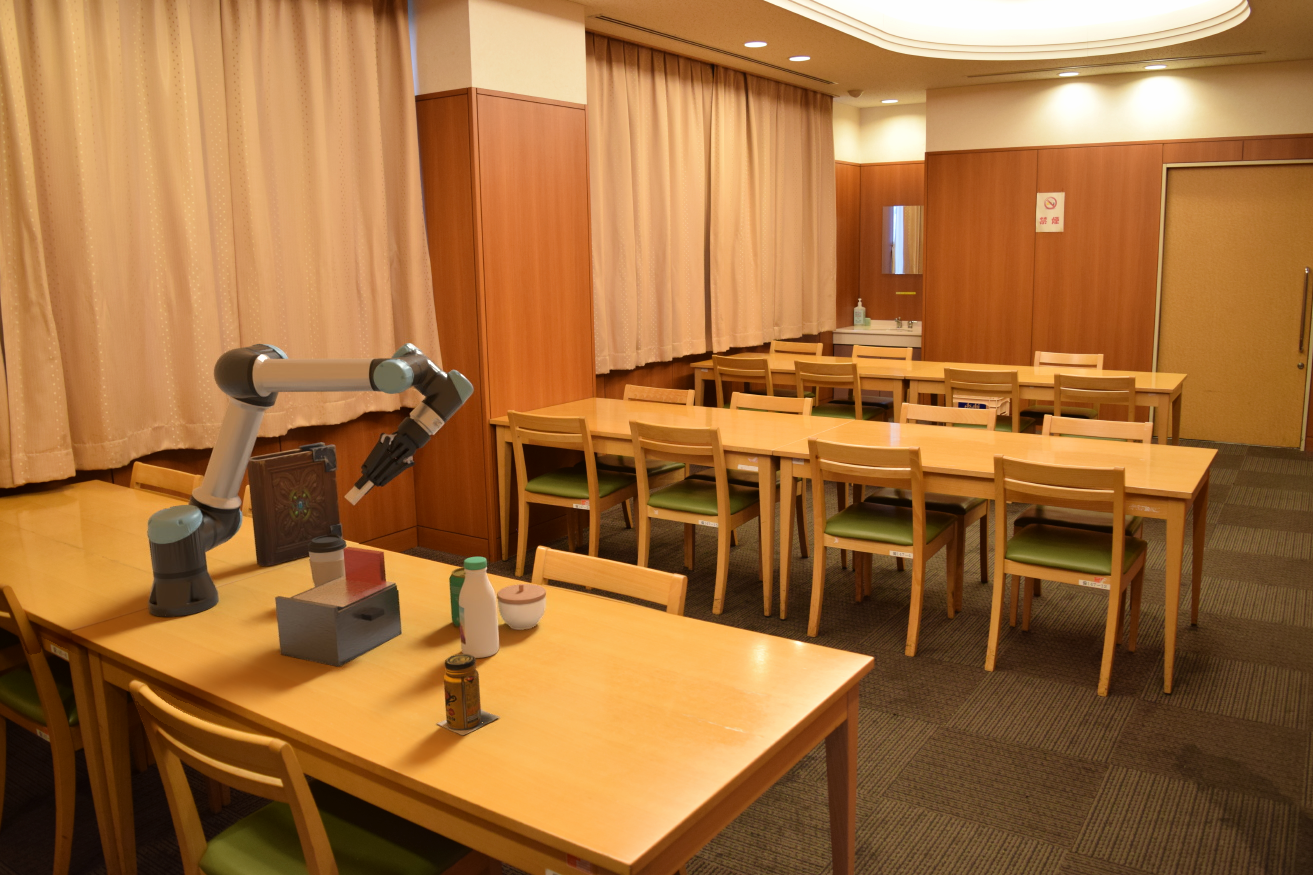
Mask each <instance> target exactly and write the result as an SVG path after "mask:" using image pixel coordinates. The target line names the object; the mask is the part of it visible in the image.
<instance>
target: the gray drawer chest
mask: <svg viewBox="0 0 1313 875" xmlns="http://www.w3.org/2000/svg"><path fill="white" fill-rule="evenodd" d="M340 577H341V576H340ZM340 577H338V578H340ZM338 578H335V579H333V580H336V579H338ZM333 580H331V581H333ZM331 581H328V582H331ZM328 582H326V583H328ZM326 583H323V584H321V585H324V584H326ZM321 585H319V586H321ZM319 586H316V587H315V586H314V587H312V588H310V589H307V590H305V591H302V592H300V593H297V594H295V595H293V596H291V597H286V596H281V595H278V596H275V597H274V600H275V609H276V610H275V611H276V620H277V633H278V641H279V652H280V655H281V656H285V657H289V658H290V657H291V658H295V659H300V660H304V661H310V662H315V663H319V664H324V665H329V666H334V667H339V668H340V667H342V666H343V665H345V664H347V663H349V662H351V661H352V660H355V659H356V658H358V657H360V656H363V655H364V654H366V653H368V652H370V651H372V650H374V649H375V648H377V647H380V646H381V645H383V644H385V643H387V642H389V641H390V640H393V639H395V638H397V637H399V636H400V635H402V618H401V607H400V594H399V593H400V592H399V589H398V585H397V584H396V585H394V586H392V587H390V588H388V589H385V590H383V591H381V592H379V593H377V594H375V595H372V596H370V597H368V598H366V599H364V600H362V601H359V602H357V603H355V604H353V605H351V606H349V607H346V608H344V609H342V610H340V611H338V606H333V605H327V604H322V603H316V602H310V601H305V600H299V599H293V597H295V596H298V595H300V594H302V593H305V592H307V591H309V590H312V589H314V588H317V587H319Z"/></svg>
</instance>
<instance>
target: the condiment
mask: <svg viewBox="0 0 1313 875" xmlns="http://www.w3.org/2000/svg"><path fill="white" fill-rule="evenodd" d="M476 661H477V660H476V658H474V656H472V655H469V654H463V653H459V654H453V655H451V656H449V657H447V658H445V660H444V668H445V669H444V675H443V688H444V690H443V691H444V700H445V701H444V702H445V716H446V719H444V720H441V721H440V722H437V723H436V724H437V725H438V726H440V727H442V728H445V729H446V730H448V731H451V732H453V733H456V734H459V735H461V736H464V735H467V734H469V733H472V732H473V731H475V730H478V729H480V728H482V727H484V726H485V725H486V724H489V723H491V722H493V721H495V720H496V719H498V718H501V716H499V715H496V714H493V713H491V712H488V711H485V710H484V709H482V706H481V692H480V691H481V690H480V676H479V671H478V670H477V665H476ZM490 713H491V714H490ZM482 722H483V723H482Z"/></svg>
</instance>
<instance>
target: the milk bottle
mask: <svg viewBox="0 0 1313 875" xmlns="http://www.w3.org/2000/svg"><path fill="white" fill-rule="evenodd" d="M487 566H488V561H487V558H486V557H483V556H472V557H467V558H466V559H464V560H463V567H464V568H465V569H464V571H465V572H466V576H465V580H464V583H463V586H462V588H461V591H460V596H459V617H460V628H459V631H460V646H461V647H460V648H461V652H462V653H461V654H469V655H472V656H474V658H475V659H479V658H480V659H481V658H487V657H491V656H494V655H495V654H497V653H498V652H499V649H500V639H499V638H500V637H499V635H500V634H499V621H498V606H497V605H498V602H497V594H496V592H495V589H494V587H493V586H492V582H490V579H489V577H488V574H487V570H488V567H487Z"/></svg>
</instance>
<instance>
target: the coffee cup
mask: <svg viewBox="0 0 1313 875" xmlns="http://www.w3.org/2000/svg"><path fill="white" fill-rule="evenodd" d="M346 547H348V546H347V541H346V540H345V539H344V538H343V539H341V537H340V536H338V535H337V534H328V535H326V536H320V537H316V538H314V539H312V541H311V543H309V544H308V549H307V550H308V551H309V555H308V557H309V566H310V571H311V572H310V573H311V577H312V583H313V585H314V587H316V586H319V585H321V584H323V583H326V582H328V581H331V580H333V579H335V578H338V577H340V576H341V577H343V576H345V564H344V552H343V549H344V548H346Z"/></svg>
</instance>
